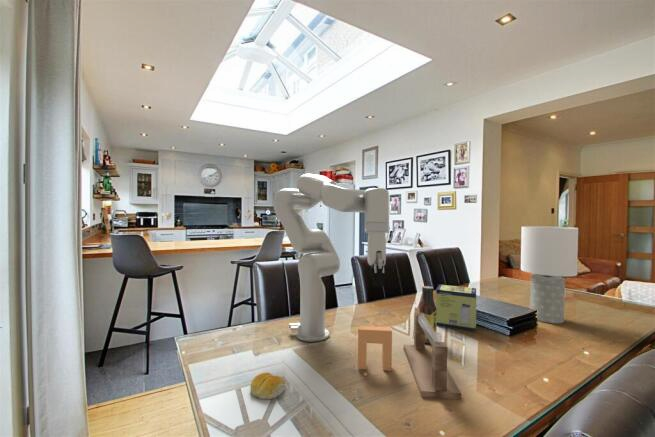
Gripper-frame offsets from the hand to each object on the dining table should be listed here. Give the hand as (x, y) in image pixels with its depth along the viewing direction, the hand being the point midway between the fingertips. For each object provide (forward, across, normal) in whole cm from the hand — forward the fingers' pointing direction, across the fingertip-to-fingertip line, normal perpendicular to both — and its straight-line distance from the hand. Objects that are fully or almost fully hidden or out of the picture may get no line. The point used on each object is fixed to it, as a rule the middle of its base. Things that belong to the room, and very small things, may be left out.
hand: (377, 282), depth 96 cm
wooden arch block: (+25, +2, -1) cm, 26 cm away
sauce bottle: (+26, -19, +20) cm, 38 cm away
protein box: (+26, -37, +37) cm, 58 cm away
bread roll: (+26, +16, -31) cm, 43 cm away
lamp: (+26, -48, +81) cm, 97 cm away
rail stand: (+26, +2, +15) cm, 30 cm away
